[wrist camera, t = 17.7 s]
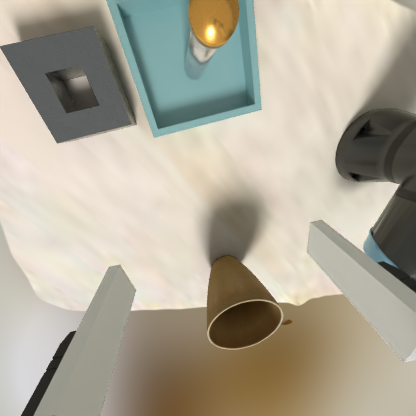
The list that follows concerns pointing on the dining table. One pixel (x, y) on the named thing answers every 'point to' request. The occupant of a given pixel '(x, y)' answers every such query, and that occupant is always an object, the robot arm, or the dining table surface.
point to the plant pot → (239, 306)
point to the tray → (175, 59)
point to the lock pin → (208, 32)
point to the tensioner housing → (68, 69)
